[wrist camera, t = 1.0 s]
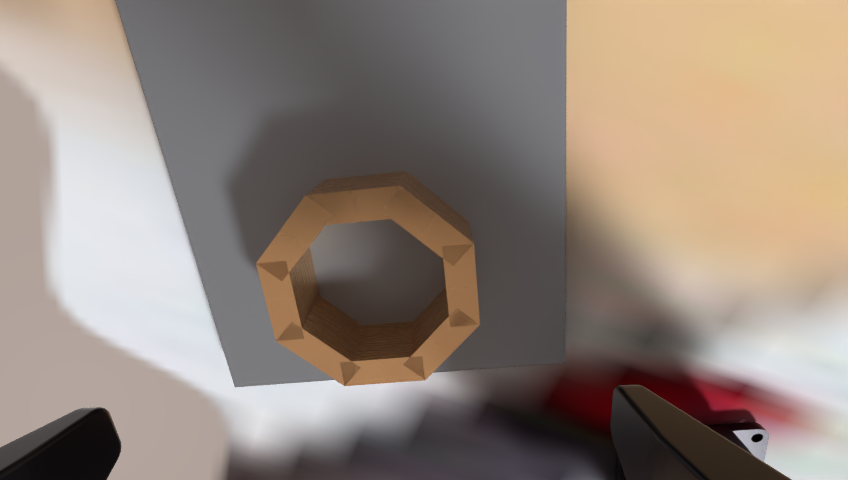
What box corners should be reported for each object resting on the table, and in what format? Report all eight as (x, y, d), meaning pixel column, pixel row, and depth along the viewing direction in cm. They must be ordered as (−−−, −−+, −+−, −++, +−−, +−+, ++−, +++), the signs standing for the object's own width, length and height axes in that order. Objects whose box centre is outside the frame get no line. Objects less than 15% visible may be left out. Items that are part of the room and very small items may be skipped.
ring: (477, 337, 17) (483, 376, 15) (307, 351, 17) (288, 390, 15) (464, 165, 15) (469, 178, 12) (268, 185, 15) (239, 201, 13)
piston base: (557, 346, 18) (601, 438, 14) (246, 369, 19) (182, 464, 14) (554, -477, 11) (656, -966, 6) (27, -377, 11) (-279, -728, 6)
